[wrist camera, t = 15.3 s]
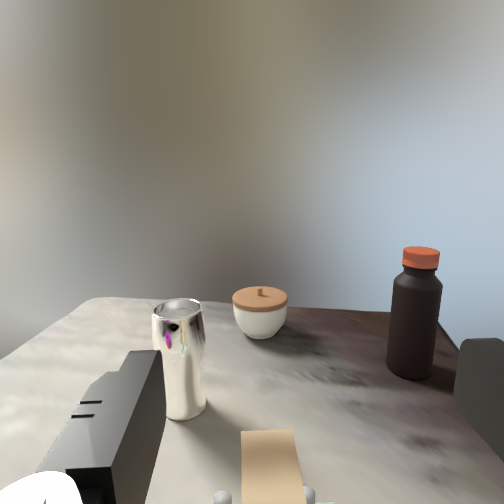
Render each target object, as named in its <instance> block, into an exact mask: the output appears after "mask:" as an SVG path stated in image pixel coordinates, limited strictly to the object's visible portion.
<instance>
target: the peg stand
mask: <svg viewBox="0 0 504 504" xmlns="http://www.w3.org/2000/svg"><path fill="white" fill-rule="evenodd" d="M303 488H304V493H305V498H306V503H307V504H335V502H324V503H315V492H314V490H313V489H312V488H311V487H308V486H303ZM214 504H232V497H231V494H230V493H229V492H228V491H225V490H222V491H219V492H217V493H216V494H215V496H214Z"/></svg>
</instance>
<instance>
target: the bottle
mask: <svg viewBox="0 0 504 504" xmlns="http://www.w3.org/2000/svg"><path fill="white" fill-rule="evenodd" d="M439 256H440V252H439V251H438V250H435V249H432V248H427V247H407V248H404V250H403V260H402V263H403V264H402V265H403V267H404V272H402V273H401V274H399V275H398V276H397V277H396V278H395V279H394V284H393V295H392V306H391V315H390V326H389V336H388V347H387V357H386V363H387V367H388V368H389V369H390V370H391V371H392V372H393V373H395V374H396V375H398V376H401V377H403V378H407V379H413V380H419V379H424V378H427V377H428V376H429V375H430V374H431V369H432V362H433V354H434V347H435V340H436V332H437V325H438V317H439V310H440V303H441V295H442V288H443V285H442V283H441V282H440V281H439V280H438V279H437V277H436V276H435V271H436V270H437V267H438V263H439Z"/></svg>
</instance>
